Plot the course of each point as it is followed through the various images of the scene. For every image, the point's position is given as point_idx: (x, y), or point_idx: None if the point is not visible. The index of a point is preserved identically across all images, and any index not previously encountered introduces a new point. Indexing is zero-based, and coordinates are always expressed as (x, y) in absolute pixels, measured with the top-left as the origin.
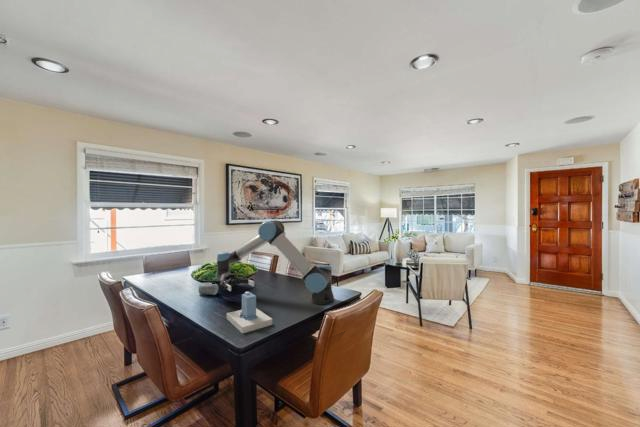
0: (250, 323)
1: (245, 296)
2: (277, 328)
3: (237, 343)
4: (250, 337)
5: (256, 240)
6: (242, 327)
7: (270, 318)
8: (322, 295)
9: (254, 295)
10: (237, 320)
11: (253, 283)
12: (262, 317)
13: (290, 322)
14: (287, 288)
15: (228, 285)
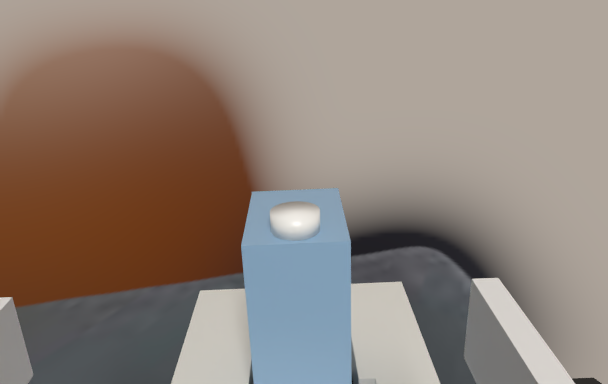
0: None
1: (336, 205)
2: (214, 288)
3: (440, 265)
4: (371, 277)
5: None
6: (400, 282)
7: (204, 297)
8: None
9: (257, 199)
10: (412, 356)
11: (11, 323)
12: (234, 325)
13: (108, 305)
14: None
15: (529, 325)
